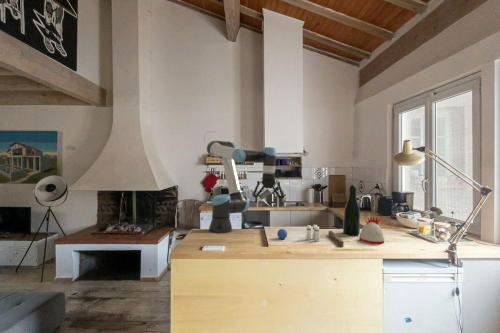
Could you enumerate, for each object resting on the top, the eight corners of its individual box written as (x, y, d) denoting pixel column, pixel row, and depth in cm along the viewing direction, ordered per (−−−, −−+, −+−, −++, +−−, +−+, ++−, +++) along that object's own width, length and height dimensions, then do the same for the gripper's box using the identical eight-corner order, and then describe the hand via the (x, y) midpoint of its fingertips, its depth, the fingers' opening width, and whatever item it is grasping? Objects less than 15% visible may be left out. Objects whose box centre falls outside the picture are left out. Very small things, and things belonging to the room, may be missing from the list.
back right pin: (313, 241, 165) (314, 226, 165) (315, 240, 166) (316, 226, 166) (317, 242, 163) (317, 227, 163) (319, 241, 165) (319, 227, 165)
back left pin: (311, 238, 170) (312, 225, 170) (314, 238, 171) (314, 224, 171) (315, 239, 168) (315, 225, 168) (317, 239, 170) (318, 225, 170)
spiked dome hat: (386, 245, 161) (387, 219, 161) (361, 243, 164) (362, 218, 164) (380, 239, 175) (381, 215, 175) (357, 237, 177) (358, 214, 177)
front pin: (305, 239, 167) (306, 225, 167) (307, 238, 169) (308, 225, 169) (309, 240, 165) (309, 226, 165) (311, 239, 167) (311, 225, 167)
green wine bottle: (360, 236, 179) (362, 185, 178) (343, 235, 181) (345, 185, 181) (358, 232, 189) (360, 184, 188) (342, 231, 191) (343, 184, 191)
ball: (275, 238, 168) (275, 228, 168) (281, 236, 172) (281, 227, 172) (282, 240, 163) (283, 230, 163) (289, 239, 168) (289, 229, 167)
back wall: (339, 246, 155) (339, 241, 155) (328, 235, 179) (328, 230, 179) (343, 246, 155) (343, 241, 155) (331, 235, 179) (331, 231, 179)
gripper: (248, 172, 164) (247, 208, 164) (289, 173, 163) (288, 210, 164) (249, 172, 171) (248, 206, 172) (287, 173, 171) (286, 208, 171)
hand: (267, 208), depth 168 cm, fingers open, 12 cm apart
